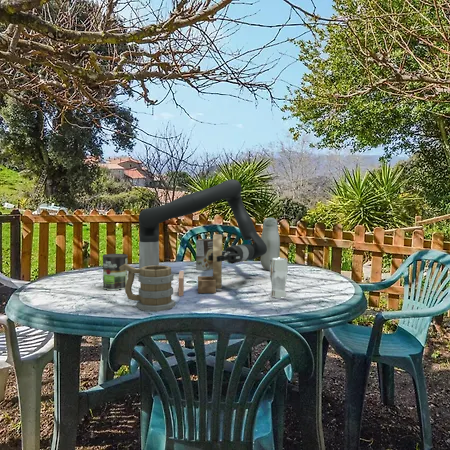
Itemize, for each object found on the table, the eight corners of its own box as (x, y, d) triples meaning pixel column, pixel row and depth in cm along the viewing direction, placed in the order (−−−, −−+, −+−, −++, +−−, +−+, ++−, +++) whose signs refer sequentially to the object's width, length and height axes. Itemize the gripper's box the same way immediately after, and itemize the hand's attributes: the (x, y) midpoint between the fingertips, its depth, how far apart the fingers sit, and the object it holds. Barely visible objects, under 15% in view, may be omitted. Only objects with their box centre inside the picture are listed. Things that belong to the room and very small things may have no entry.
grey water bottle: (259, 268, 229) (260, 216, 227) (278, 268, 229) (279, 217, 227) (260, 271, 220) (261, 217, 218) (280, 271, 219) (281, 218, 217)
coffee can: (118, 291, 173) (118, 257, 172) (97, 289, 176) (97, 256, 175) (132, 286, 182) (132, 254, 181) (112, 284, 186) (112, 253, 185)
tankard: (178, 303, 155) (178, 262, 154) (166, 312, 143) (166, 268, 142) (128, 299, 159) (128, 260, 158) (112, 308, 147) (111, 265, 146)
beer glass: (275, 299, 160) (276, 260, 159) (265, 295, 167) (266, 258, 165) (290, 297, 164) (291, 259, 163) (280, 293, 170) (281, 257, 169)
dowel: (213, 288, 173) (213, 235, 171) (212, 286, 177) (212, 234, 175) (221, 288, 173) (222, 235, 172) (221, 286, 177) (221, 234, 175)
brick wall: (178, 295, 166) (178, 278, 165) (179, 287, 182) (179, 271, 181) (183, 295, 166) (183, 278, 165) (183, 287, 182) (183, 270, 181)
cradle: (198, 293, 170) (198, 280, 170) (197, 288, 179) (197, 276, 178) (215, 292, 170) (215, 280, 170) (214, 287, 179) (214, 276, 179)
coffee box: (205, 270, 221) (205, 240, 220) (195, 269, 225) (195, 239, 224) (215, 268, 228) (215, 239, 227) (206, 267, 232) (206, 238, 231)
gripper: (223, 244, 190) (199, 248, 176) (250, 246, 181) (227, 250, 167) (223, 260, 190) (199, 265, 176) (250, 263, 182) (227, 269, 168)
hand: (213, 258), depth 172 cm, fingers closed on dowel, 3 cm apart
